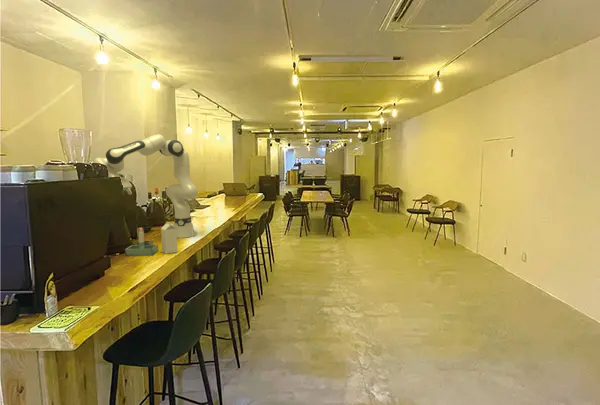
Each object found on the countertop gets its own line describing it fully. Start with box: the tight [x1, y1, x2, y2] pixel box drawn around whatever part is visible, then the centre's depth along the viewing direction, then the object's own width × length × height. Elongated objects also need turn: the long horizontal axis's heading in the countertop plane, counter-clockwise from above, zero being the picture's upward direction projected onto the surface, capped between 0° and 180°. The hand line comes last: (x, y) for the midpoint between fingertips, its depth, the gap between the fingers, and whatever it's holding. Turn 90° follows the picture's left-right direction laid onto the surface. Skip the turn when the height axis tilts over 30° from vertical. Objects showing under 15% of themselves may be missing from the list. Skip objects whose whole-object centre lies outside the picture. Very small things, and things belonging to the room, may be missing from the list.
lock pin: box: [137, 226, 145, 249], centre depth 227 cm, size 3×3×15 cm
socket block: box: [137, 240, 154, 245], centre depth 237 cm, size 7×7×5 cm
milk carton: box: [160, 221, 178, 255], centre depth 230 cm, size 7×7×19 cm
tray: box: [124, 244, 159, 257], centre depth 227 cm, size 11×16×4 cm
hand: (125, 194), depth 234 cm, fingers open, 8 cm apart
